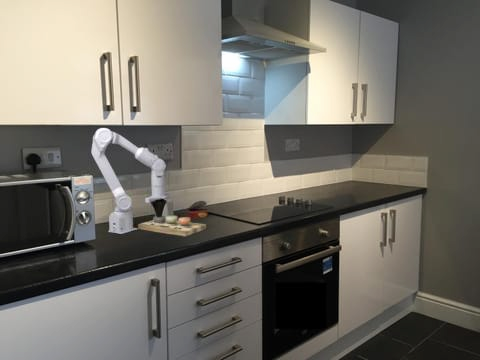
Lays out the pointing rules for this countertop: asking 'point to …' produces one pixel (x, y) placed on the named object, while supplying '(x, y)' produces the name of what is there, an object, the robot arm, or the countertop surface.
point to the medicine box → (168, 209)
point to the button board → (172, 227)
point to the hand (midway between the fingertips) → (159, 216)
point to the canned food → (197, 210)
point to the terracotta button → (184, 220)
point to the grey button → (159, 219)
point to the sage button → (171, 219)
